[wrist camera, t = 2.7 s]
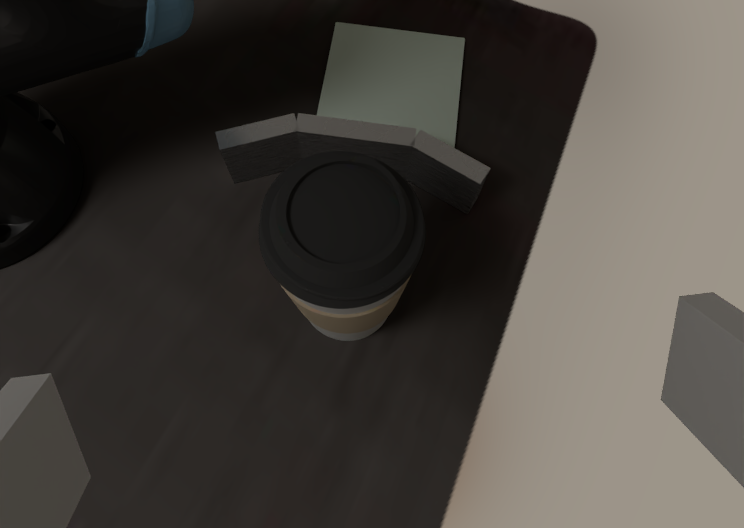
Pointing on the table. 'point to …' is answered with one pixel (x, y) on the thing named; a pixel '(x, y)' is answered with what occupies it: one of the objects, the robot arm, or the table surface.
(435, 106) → the mat
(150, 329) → the table surface
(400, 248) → the coffee cup
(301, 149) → the bent rail
